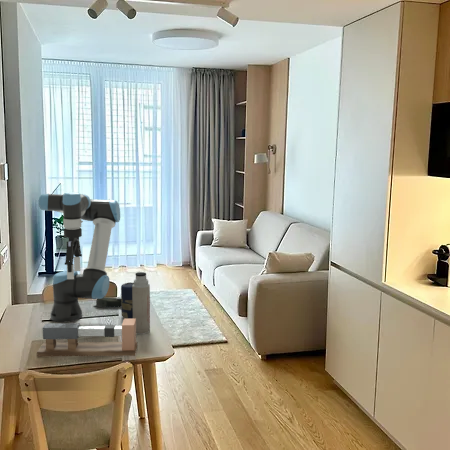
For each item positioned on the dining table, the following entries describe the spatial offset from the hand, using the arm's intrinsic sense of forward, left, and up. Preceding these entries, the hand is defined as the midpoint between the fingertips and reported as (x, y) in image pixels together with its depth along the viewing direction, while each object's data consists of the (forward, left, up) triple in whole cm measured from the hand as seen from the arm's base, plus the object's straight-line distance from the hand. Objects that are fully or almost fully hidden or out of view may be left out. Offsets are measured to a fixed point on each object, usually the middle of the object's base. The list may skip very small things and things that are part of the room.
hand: (74, 274), depth 228 cm
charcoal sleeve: (+17, -2, -22) cm, 28 cm away
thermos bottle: (-6, +29, -29) cm, 41 cm away
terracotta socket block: (+17, +26, -27) cm, 41 cm away
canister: (-25, +22, -29) cm, 44 cm away
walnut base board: (+17, +9, -29) cm, 35 cm away
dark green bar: (-41, +8, -29) cm, 51 cm away
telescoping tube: (+17, +13, -22) cm, 30 cm away
